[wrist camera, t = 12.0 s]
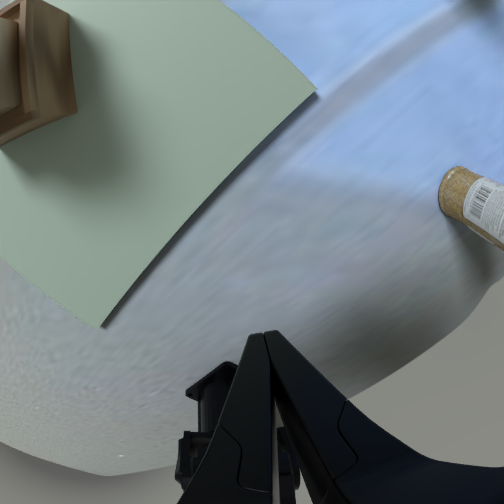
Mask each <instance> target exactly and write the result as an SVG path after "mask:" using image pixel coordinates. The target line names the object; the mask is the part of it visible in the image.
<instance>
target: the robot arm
mask: <svg viewBox="0 0 504 504" xmlns="http://www.w3.org/2000/svg"><path fill="white" fill-rule="evenodd" d="M186 396H187V397H189V398H191V399H193V400H196V401H198V432H190V431H184V437H183V438H182V439H179V448H178V460H177V465H176V470H175V480H176V481H177V482H179V483H180V484H181V487H182V489H183V491H184V493H183V494H182V496H181V498H180V500H179V501H178V503H177V504H296V498H295V490H298V489H299V486H300V471H301V473H302V476H303V479H304V482H305V484H306V487H307V489H308V492H309V495H310V497H311V500H312V503H313V504H504V467H482V466H472V465H464V464H457V463H450V462H444V461H438V460H434V459H431V458H428V457H426V456H424V455H422V454H420V453H418V452H416V451H415V450H413V449H412V448H410V447H409V446H407V445H406V444H404V443H403V442H401V441H400V440H398V439H397V438H395V437H394V436H392V435H391V434H389V433H388V432H387V431H385V430H384V429H382V428H381V427H380V426H378V425H377V424H376V423H374V422H373V421H371V420H370V419H369V418H368V417H367V416H366V415H364V414H363V413H362V412H361V411H360V410H359V409H358V408H356V407H355V406H354V405H353V404H352V403H351V402H350V401H349V400H347V398H346V397H345V396H344V395H343V394H342V393H341V392H340V391H338V390H337V389H336V388H335V387H334V386H333V385H332V384H331V383H330V382H329V381H328V380H327V379H326V378H325V377H324V376H323V375H322V374H321V373H320V372H319V371H318V370H317V369H316V368H315V367H314V366H313V365H312V364H311V363H310V362H309V361H308V360H307V359H306V358H305V357H304V356H303V355H302V354H301V353H300V352H299V351H298V350H297V349H296V348H295V347H294V346H293V345H292V344H291V343H290V342H289V341H288V340H287V339H286V338H285V337H284V336H283V335H282V334H281V333H280V332H279V331H277V330H273V331H267V332H264V335H263V333H255V334H250V335H249V337H248V339H247V342H246V345H245V348H244V351H243V354H242V357H241V360H240V362H239V365H238V367H237V366H236V365H234V364H232V363H230V362H223V363H222V364H220V365H219V366H218V367H217V368H215V369H214V370H213V371H211V372H210V373H209V374H207V375H206V376H205V377H203V378H202V379H201V380H199V381H198V382H197V383H195V384H194V385H192V386H191V387H190V388H188V389H187V390H186ZM274 397H275V399H274ZM346 400H347V401H346ZM275 401H276V404H277V407H278V410H279V413H280V415H281V418H282V421H283V424H284V427H278V428H276V413H275ZM299 468H300V469H299Z"/></svg>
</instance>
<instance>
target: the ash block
mask: <svg viewBox="0 0 504 504" xmlns="http://www.w3.org/2000/svg"><path fill="white" fill-rule="evenodd" d="M20 105H22V104H21V96H20V87H19V76H18V59H17V22H16V21H12V20H8V19H5V18H1V17H0V117H1V116H2V115H4V114H6V113H8V112H9V111H11V110H13V109H15V108H17V107H18V106H20Z"/></svg>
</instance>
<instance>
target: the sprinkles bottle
mask: <svg viewBox="0 0 504 504" xmlns="http://www.w3.org/2000/svg"><path fill="white" fill-rule="evenodd" d="M439 203H440V207H441V209H442V211H443V212H444V213H445V214H446V215H448V216H450V217H454V218H455V219H457V220H458V221H460V222H462V223H463V224H465V225H466V226H468V227H469V229H471V230H472V231H474V232H475V233H477V234H478V235H480V236H481V237H483V238H484V239H485V240H487V241H488V242H490V243H491V244H493V245H494V246H497V247H499V248H500V249H501V250H503V251H504V185H502V184H500V183H498V182H496V181H494V180H491V179H489V178H486V177H483V176H480V175H478V174H475V173H473V172H471V171H469V170H468V169H467V168H464V167H462V166H457V167H454V168H452V169H451V170H449V171H448V172H447V173H446V174H445V176H444V178H443V180H442V182H441V185H440V189H439Z"/></svg>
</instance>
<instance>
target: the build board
mask: <svg viewBox="0 0 504 504" xmlns="http://www.w3.org/2000/svg"><path fill="white" fill-rule="evenodd" d="M13 1H15V0H11V1H10V3H12V2H13ZM43 1H45V2H47V3H49V4H51V5H53V6H55V7H57V8H59V9H61V10H63V11H65V12H67V13H68V14H69V33H70V50H71V62H72V72H73V81H74V89H75V97H76V104H77V110H78V113H75V114H72V115H70V116H67V117H64V118H62V119H59V120H57V121H54V122H52V123H50V124H47V125H45V126H42V127H40V128H38V129H36V130H33V131H31V132H29V133H27V134H25V135H23V136H21V137H18V138H16V139H14V140H12V141H10V142H8V143H6V144H5V145H3V146H1V147H0V257H1V258H2V259H3V260H4V261H6V262H7V263H8V264H9V265H10V266H11V267H12V268H13V269H15V270H16V271H17V272H18V273H19V274H20V275H22V276H23V277H24V278H25V279H26V280H28V281H29V282H30V283H31V284H33V285H34V286H35V287H36V288H38V289H39V290H40V291H41V292H43V293H44V294H45V295H46V296H48V297H49V298H50V299H52V300H53V301H54V302H56V303H57V304H58V305H60V306H61V307H63V308H64V309H65V310H67V311H68V312H69V313H71V314H72V315H74V316H75V317H77V318H78V319H79V320H81V321H82V322H84V323H85V324H87V325H88V326H90V327H91V328H93V329H94V330H96V331H97V329H98V328H99V327H100V325H101V324H102V323H103V321H104V320H105V319H106V317H107V316H108V315H109V313H110V312H111V311H112V309H113V308H114V307H115V306H116V304H117V303H118V302H119V300H120V299H121V298H122V297H123V295H124V294H125V293H126V292H127V290H128V289H129V288H130V287H131V285H132V284H133V283H134V282H135V280H136V279H137V278H138V277H139V275H140V274H141V273H142V272H143V271H144V269H145V268H146V267H147V266H148V265H149V263H150V262H151V261H152V260H153V259H154V257H155V256H156V255H157V254H158V253H159V251H160V250H161V249H162V248H163V247H164V246H165V244H166V243H167V242H168V241H169V240H170V239H171V237H172V236H173V235H174V234H175V233H176V232H177V231H178V229H179V228H180V227H181V226H182V225H183V224H184V223H185V221H186V220H187V219H188V218H189V217H190V216H191V215H192V214H193V213H194V211H195V210H196V209H197V208H198V207H199V206H200V205H201V204H202V203H203V202H204V200H205V199H206V198H207V197H208V196H209V195H210V194H211V193H212V192H213V191H214V190H215V189H216V187H217V186H218V185H219V184H220V183H221V182H222V181H223V180H224V179H225V178H226V177H227V176H228V175H229V174H230V173H231V172H232V171H233V170H234V169H235V167H236V166H237V165H238V164H239V163H240V162H241V161H242V160H243V159H244V158H245V157H246V156H247V155H248V154H249V153H250V152H251V151H252V150H253V149H254V148H255V147H256V146H257V145H258V144H259V143H260V142H261V141H262V140H263V139H264V138H265V137H266V136H267V135H268V134H269V133H270V132H271V131H272V130H273V129H274V128H275V127H277V126H278V125H279V124H280V123H281V122H282V121H283V120H284V119H285V118H286V117H287V116H288V115H289V114H290V113H291V112H292V111H293V110H294V109H296V108H297V107H298V106H299V105H300V104H301V103H302V102H303V101H304V100H305V99H306V98H307V97H309V96H310V95H311V94H312V93H313V92H314V91H315V90H316V89H317V88H316V87H315V86H314V85H313V84H312V83H311V82H310V80H309V79H308V78H307V77H306V76H305V75H304V74H303V73H302V72H301V71H300V70H299V69H298V68H297V67H296V66H295V65H294V64H293V63H292V62H291V61H290V60H289V59H288V58H287V57H286V56H284V55H283V54H282V53H281V52H280V51H279V50H278V49H277V48H276V47H275V46H274V45H273V44H272V43H270V42H269V41H268V40H267V39H266V38H265V37H264V36H263V35H261V34H260V33H259V32H258V31H257V30H256V29H254V28H253V27H252V26H251V25H250V24H249V23H247V22H246V21H245V20H244V19H242V18H241V17H240V16H239V15H237V14H236V13H235V12H234V11H232V10H231V9H230V8H229V7H227V6H226V5H225V4H223V3H222V2H221V1H219V0H43ZM10 3H9V4H10Z"/></svg>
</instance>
